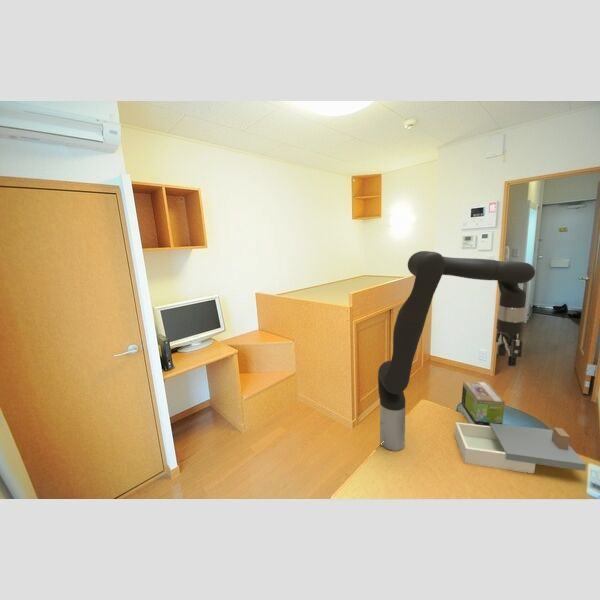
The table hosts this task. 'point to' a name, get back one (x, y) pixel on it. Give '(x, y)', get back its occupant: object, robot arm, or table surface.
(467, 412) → the tea box
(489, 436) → the box
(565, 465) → the lid
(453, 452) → the table surface
